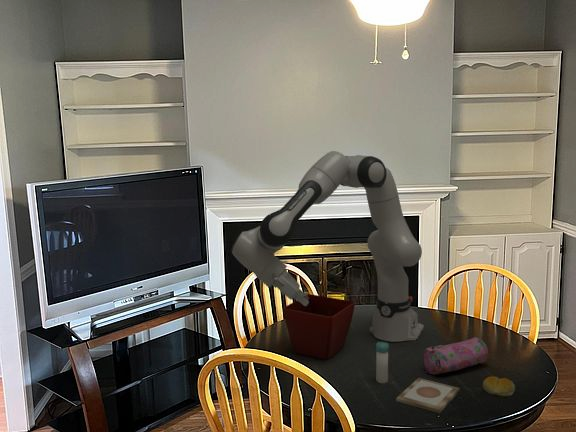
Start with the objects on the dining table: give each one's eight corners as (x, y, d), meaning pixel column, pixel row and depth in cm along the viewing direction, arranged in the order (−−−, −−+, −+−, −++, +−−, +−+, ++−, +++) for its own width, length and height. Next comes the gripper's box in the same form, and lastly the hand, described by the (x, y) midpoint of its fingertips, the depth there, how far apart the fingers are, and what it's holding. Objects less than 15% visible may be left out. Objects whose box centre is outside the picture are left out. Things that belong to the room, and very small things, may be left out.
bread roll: (486, 382, 187) (486, 370, 186) (516, 389, 182) (517, 376, 182) (478, 393, 180) (479, 380, 180) (510, 400, 175) (510, 387, 175)
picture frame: (418, 380, 188) (418, 376, 188) (459, 391, 181) (459, 387, 181) (396, 401, 175) (396, 397, 175) (439, 413, 168) (439, 409, 168)
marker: (379, 377, 191) (379, 340, 189) (390, 379, 189) (390, 343, 187) (373, 381, 188) (373, 344, 186) (384, 384, 186) (385, 347, 184)
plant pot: (356, 346, 217) (356, 301, 214) (332, 365, 200) (332, 317, 198) (309, 337, 226) (308, 293, 223) (282, 355, 210) (281, 308, 207)
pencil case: (436, 380, 189) (437, 352, 187) (419, 369, 197) (419, 342, 195) (490, 367, 197) (491, 341, 196) (471, 357, 206) (472, 332, 204)
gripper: (278, 267, 180) (314, 298, 179) (282, 264, 200) (313, 291, 200) (264, 284, 180) (300, 314, 179) (269, 278, 200) (301, 306, 200)
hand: (307, 302), depth 190 cm, fingers open, 8 cm apart
